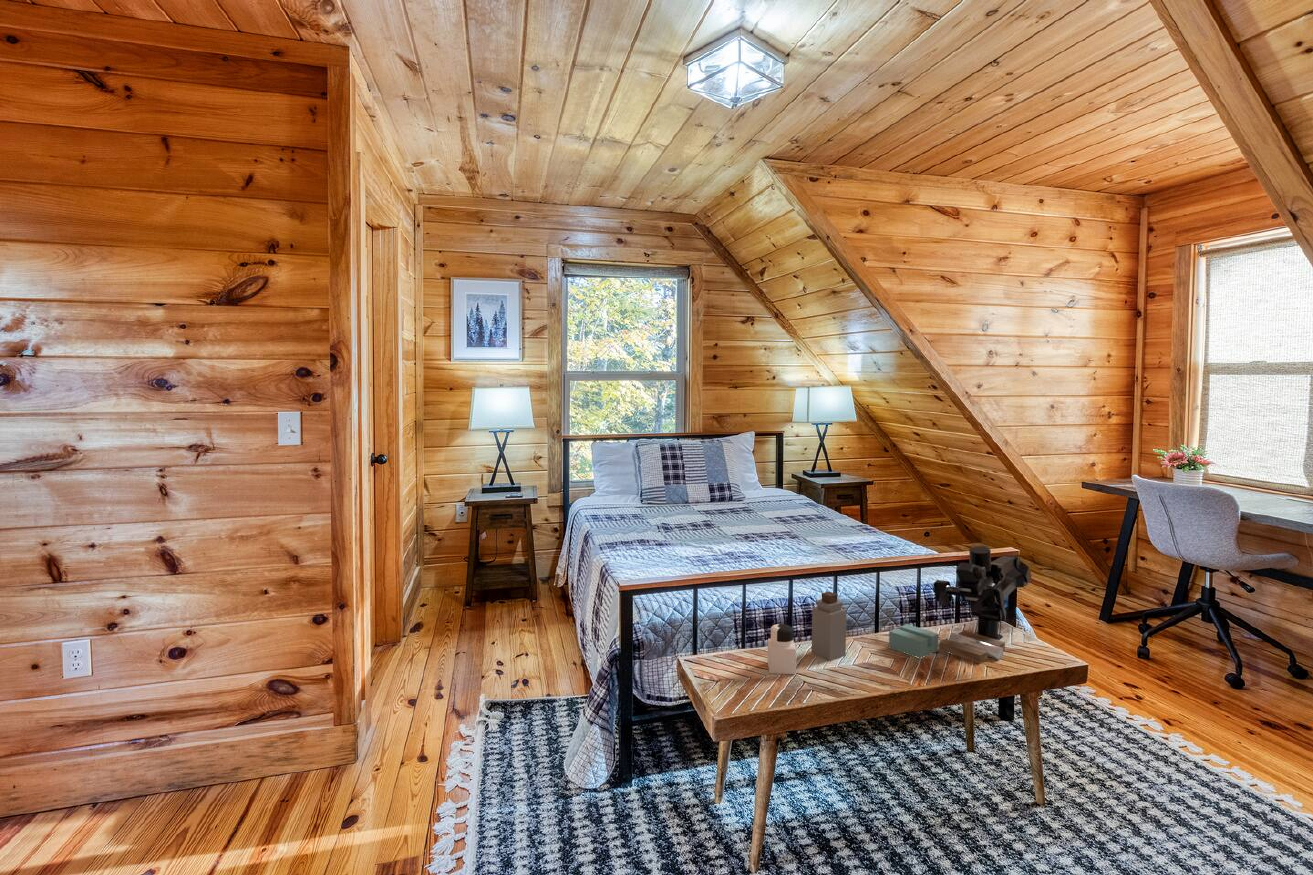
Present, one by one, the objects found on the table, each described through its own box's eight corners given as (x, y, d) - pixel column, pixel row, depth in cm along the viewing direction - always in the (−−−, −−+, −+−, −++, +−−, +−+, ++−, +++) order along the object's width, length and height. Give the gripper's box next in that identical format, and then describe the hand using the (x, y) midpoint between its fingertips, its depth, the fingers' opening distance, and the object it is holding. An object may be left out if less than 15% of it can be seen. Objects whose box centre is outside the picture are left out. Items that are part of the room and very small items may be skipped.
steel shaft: (949, 645, 190) (949, 634, 190) (955, 642, 193) (955, 631, 192) (997, 661, 179) (997, 649, 179) (1003, 658, 182) (1003, 646, 181)
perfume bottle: (845, 655, 183) (846, 594, 182) (829, 661, 179) (831, 599, 178) (827, 647, 189) (828, 588, 187) (811, 653, 185) (812, 592, 183)
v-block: (906, 639, 194) (907, 623, 194) (937, 650, 187) (938, 633, 186) (888, 647, 189) (889, 631, 188) (920, 658, 181) (920, 641, 180)
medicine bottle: (793, 663, 178) (793, 621, 177) (796, 674, 171) (796, 631, 170) (767, 662, 178) (767, 621, 178) (769, 673, 171) (769, 630, 170)
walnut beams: (964, 637, 196) (964, 630, 196) (1004, 650, 187) (1005, 642, 186) (939, 649, 187) (939, 641, 187) (980, 663, 178) (980, 655, 177)
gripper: (941, 556, 195) (919, 575, 185) (1007, 562, 181) (986, 582, 171) (947, 590, 196) (925, 611, 186) (1012, 598, 182) (992, 621, 172)
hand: (956, 606), depth 178 cm, fingers open, 9 cm apart
